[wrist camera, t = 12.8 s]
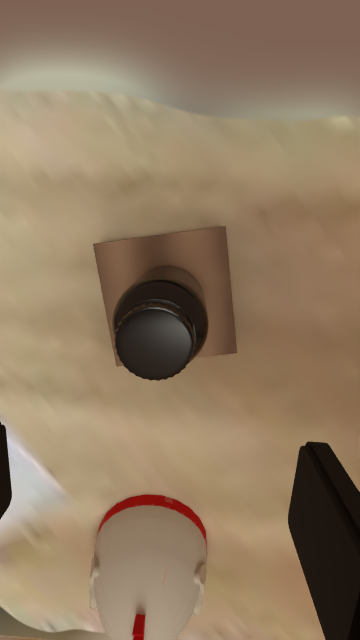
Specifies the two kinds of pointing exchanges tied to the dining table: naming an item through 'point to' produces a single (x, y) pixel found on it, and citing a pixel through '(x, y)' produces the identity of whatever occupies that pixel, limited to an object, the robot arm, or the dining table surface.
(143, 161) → the dining table surface
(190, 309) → the supplement bottle
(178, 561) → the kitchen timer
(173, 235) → the base block
